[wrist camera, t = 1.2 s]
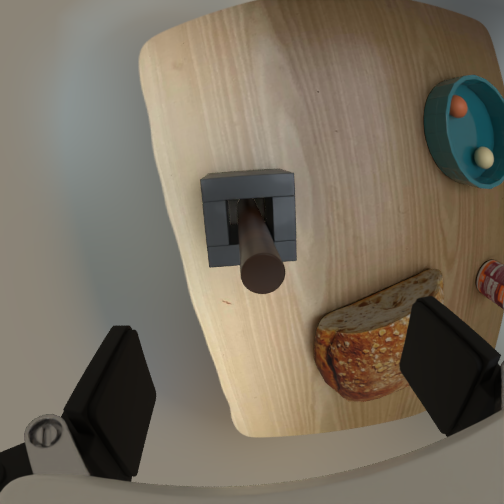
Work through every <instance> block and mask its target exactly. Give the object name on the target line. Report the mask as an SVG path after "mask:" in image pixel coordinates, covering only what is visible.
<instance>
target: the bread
mask: <svg viewBox="0 0 504 504" xmlns="http://www.w3.org/2000/svg"><path fill="white" fill-rule="evenodd" d="M427 296H433V297H435V298H436V299H437V300H438V301H440V302H441V303H442V304H443V305H444V298H443V277H442V274H441V271H440V270H438V269H429V270H425V271H423V272H422V273H420V274H418V275H416V276H414V277H412V278H409V279H407V280H404V281H402V282H400V283H398V284H396V285H394V286H392V287H389V288H387V289H385V290H383V291H380V292H378V293H376V294H374V295H371V296H369V297H367V298H365V299H363V300H361V301H358V302H356V303H354V304H352V305H349V306H347V307H344V308H341V309H338V310H335V311H333V312H331V313H329V314H327V315H326V316H325V317H323V318H322V319H321V321H320V323H319V326H318V328H317V330H316V337H315V343H314V360H315V363H316V365H317V367H318V369H319V371H320V373H321V374H322V376H323V378H324V380H325V382H326V383H327V384H328V385H329V386H331V387H332V388H333V389H335V390H336V391H337V392H338V393H339V394H340V395H341V396H342V397H343V398H345V399H346V400H348V401H353V402H364V401H370V400H374V399H378V398H381V397H384V396H386V395H389V394H392V393H394V392H397V391H399V390H401V389H404V388H406V387H408V386H409V383H408V382H407V380H406V379H405V377H404V376H403V375H402V373H401V371H400V367H399V363H400V359H401V355H402V351H403V347H404V342H405V338H406V333H407V329H408V324H409V319H410V314H411V308H412V305H413V304H414V303H415V301H416V300H417V299H418V298H421V297H427Z"/></svg>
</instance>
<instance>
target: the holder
mask: <svg viewBox="0 0 504 504" xmlns="http://www.w3.org/2000/svg"><path fill="white" fill-rule="evenodd" d="M200 181H201V192H202V202H203V213H204V223H205V233H206V242H207V251H208V260H209V267H223V266H236V265H240V254H239V236H238V224H234V225H230V214H229V201H228V200H234V199H248V198H263V197H264V204H265V224H266V226H267V228H268V231H269V233H270V235H271V237H272V240H273V242H274V244H275V246H276V249H277V251H278V253H279V255H280V258H281V260H282V262H286V261H296V260H297V255H296V210H295V183H294V173H292V172H289V171H286V170H282V169H265V170H248V171H234V172H222V173H210V174H208V175H206V176H205V177H203V178H202V179H201V180H200Z"/></svg>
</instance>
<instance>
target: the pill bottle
mask: <svg viewBox="0 0 504 504" xmlns="http://www.w3.org/2000/svg"><path fill="white" fill-rule="evenodd" d="M477 289H478V291H479V292H480V293H482V294H483V295H484V296H486V297H487V298H489V299H490V300H492V301H493V302H494V303H496V304H497V305H498V306H500V307H501V308H502V309H504V265H502V264H501V263H499V262H497V261H495V260H490V261H487V262H486V263H485V264H484V265H483V266H482V267H481V269H480V271H479V273H478V277H477Z"/></svg>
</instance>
